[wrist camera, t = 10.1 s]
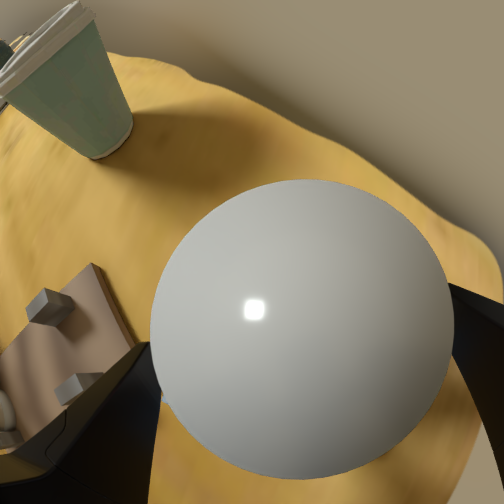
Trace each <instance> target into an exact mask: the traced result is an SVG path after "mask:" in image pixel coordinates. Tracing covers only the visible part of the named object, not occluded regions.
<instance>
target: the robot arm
mask: <svg viewBox="0 0 504 504" xmlns="http://www.w3.org/2000/svg"><path fill="white" fill-rule="evenodd" d="M448 286H449V289H450V293H451V299H452V305H453V312H454V338H453V347H452V356H453V358H454V360H455V362H456V364H457V366H458V368H459V370H460V372H461V374H462V376H463V378H464V380H465V382H466V384H467V387H468V389H469V391H470V393H471V396H472V398H473V400H474V402H475V405H476V407H477V410H478V412H479V414H480V417H481V419H482V422H483V425H484V427H485V430H486V433H487V435H488V438H489V441H490V444H491V447H492V450H493V453H494V457H495V460H496V463H497V466H498V470H499V473H500V477H501V481H502V485H503V489H504V305H503V304H501V303H498V302H496V301H493V300H491V299H489V298H486V297H484V296H481V295H479V294H476V293H474V292H471V291H469V290H466V289H464V288H461V287H459V286H456V285H454V284H451V283H448ZM160 403H161V387H160V385H159V382H158V379H157V375H156V372H155V369H154V365H153V359H152V352H151V345H150V342H149V341H148V342H139V343H137V344H136V345H135V346H134V347H133V348H132V349H131V350H130V351H128V352H127V353H126V354H125V355H124V356H123V357H122V358H121V359H120V360H119V361H117V362H116V363H115V364H114V365H113V366H112V367H111V368H110V369H109V370H107V371H106V372H105V373H104V374H103V375H102V376H101V377H100V378H99V379H98V380H96V381H95V382H94V383H93V384H92V385H91V386H90V387H89V388H88V389H87V390H85V391H84V392H83V393H82V394H81V395H80V396H79V397H78V398H77V399H76V400H75V401H73V402H72V403H71V404H70V405H69V406H68V407H67V409H65V410H64V411H62V412H61V413H60V414H59V415H58V416H57V417H56V418H55V419H54V420H52V421H51V422H50V423H49V424H48V425H47V426H45V427H44V428H43V429H42V430H40V431H39V432H38V433H37V434H35V435H34V436H33V437H31V438H30V439H29V440H28V441H26V442H25V443H24V444H22V445H21V446H20V447H18V448H17V449H16V450H14V451H13V452H10V453H8V454H4V455H0V504H148V494H149V485H150V476H151V467H152V459H153V452H154V445H155V438H156V431H157V424H158V418H159V412H160Z"/></svg>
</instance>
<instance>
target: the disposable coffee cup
mask: <svg viewBox="0 0 504 504" xmlns="http://www.w3.org/2000/svg"><path fill="white" fill-rule="evenodd" d="M95 17H96V14H95V13H93V11H92V10H91V8H90V7H84V8H83V6H82V5H81V3H80V1H75V2H73V3H71V4H69V5H67V6H66V7H65V8H63V9H62V10H61V11H59V12H58V13H57V14H55V15H54V16H53V17H52V18H50V19H49V20H48V21H47V22H46V23H45V24H44V25H42V26H41V27H40V28H39V29H38V30H37V31H36V32H35V33H34V34H33V35H32V36H31V37H30V38H29V39H28V40H27V41H26V42H25V43H24V44H23V45H22V46H21V47H20V48H19V49H18V50H17V51H16V52H15V53H14V54H13V56H12V57H11V58H10V59H9V60H8V62H7V63H6V64H5V65H4V66H3V68H2V69H1V70H0V98H3V99H4V100H5V101H6V102H8V103H9V104H11V105H12V106H13V107H15V108H16V109H17V110H19V111H20V112H22V113H23V114H24V115H26V116H27V117H29V118H30V119H31V120H33V121H34V122H36V123H37V124H38V125H40V126H41V127H43V128H44V129H45V130H47V131H48V132H50V133H51V134H53V135H54V136H55V137H57V138H58V139H60V140H61V141H62V142H64V143H65V144H67V145H68V146H70V147H71V148H72V149H74V150H75V151H77V152H78V153H80V154H81V155H83V156H85V157H87V158H92V159H94V160H95V159H99V158H103V157H106V156H108V155H109V154H110V153H112V152H113V151H115V150H116V149H118V148H119V147H120V146H121V145H122V143H123V142H124V141H125V140H126V139H127V138H128V136H129V135H130V132H131V130H132V127H133V124H134V123H133V120H132V119H133V116H132V113H131V111H130V108H129V106H128V104H127V101H126V99H125V97H124V94H123V92H122V90H121V87H120V85H119V83H118V80H117V78H116V75H115V73H114V70H113V68H112V66H111V63H110V61H109V58H108V56H107V53H106V50H105V48H104V45H103V43H102V40H101V38H100V35H99V32H98V30H97V27H96V24H95V22H94V18H95Z"/></svg>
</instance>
